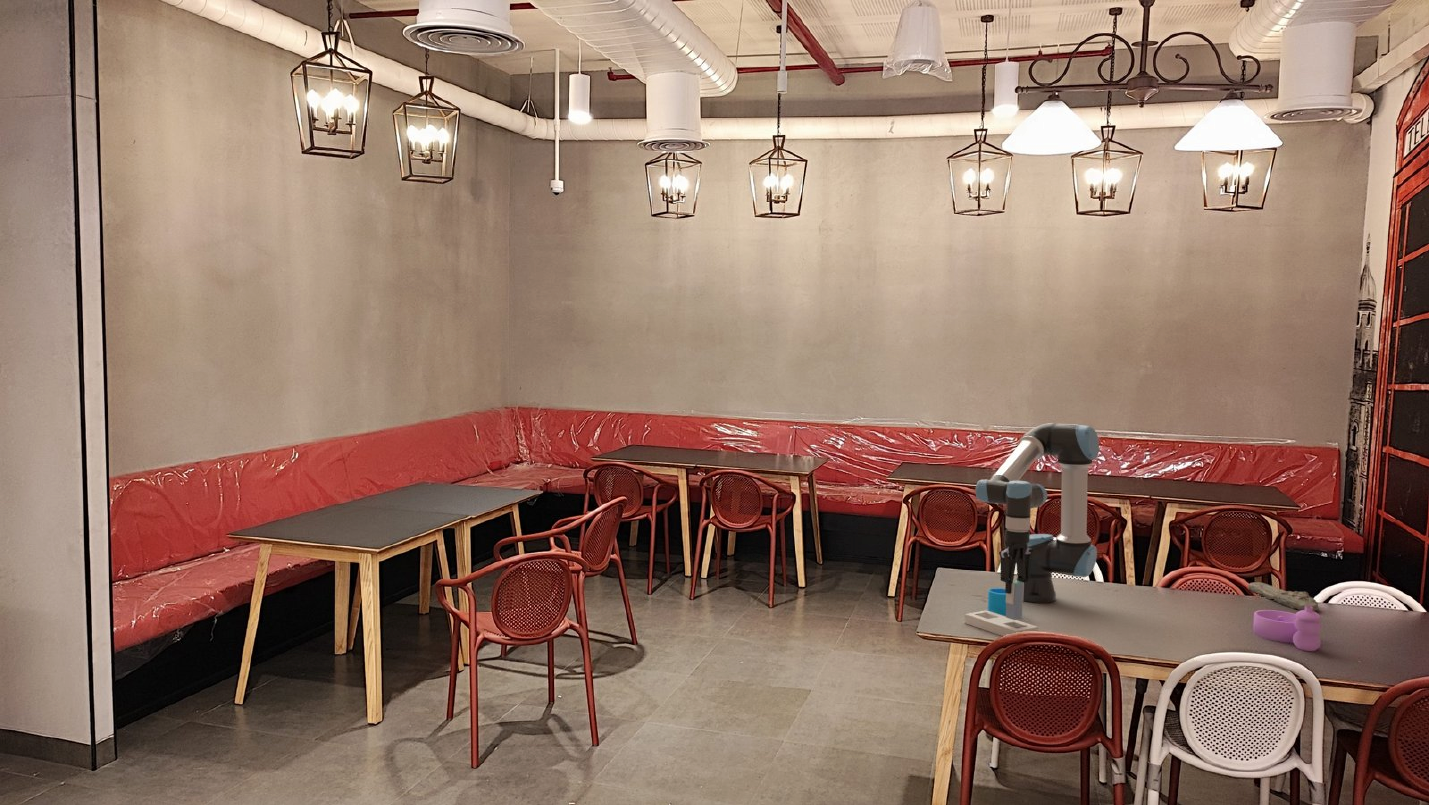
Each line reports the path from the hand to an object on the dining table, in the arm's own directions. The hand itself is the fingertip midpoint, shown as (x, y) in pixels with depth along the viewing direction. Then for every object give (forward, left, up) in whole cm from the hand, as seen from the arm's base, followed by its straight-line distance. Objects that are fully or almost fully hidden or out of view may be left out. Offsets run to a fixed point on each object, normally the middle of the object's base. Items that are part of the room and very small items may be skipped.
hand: (1014, 602), depth 325 cm
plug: (0, 0, -5) cm, 5 cm away
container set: (-74, +47, -11) cm, 88 cm away
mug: (-15, -20, -11) cm, 27 cm away
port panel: (0, -6, -10) cm, 12 cm away
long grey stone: (-123, +17, -11) cm, 124 cm away
